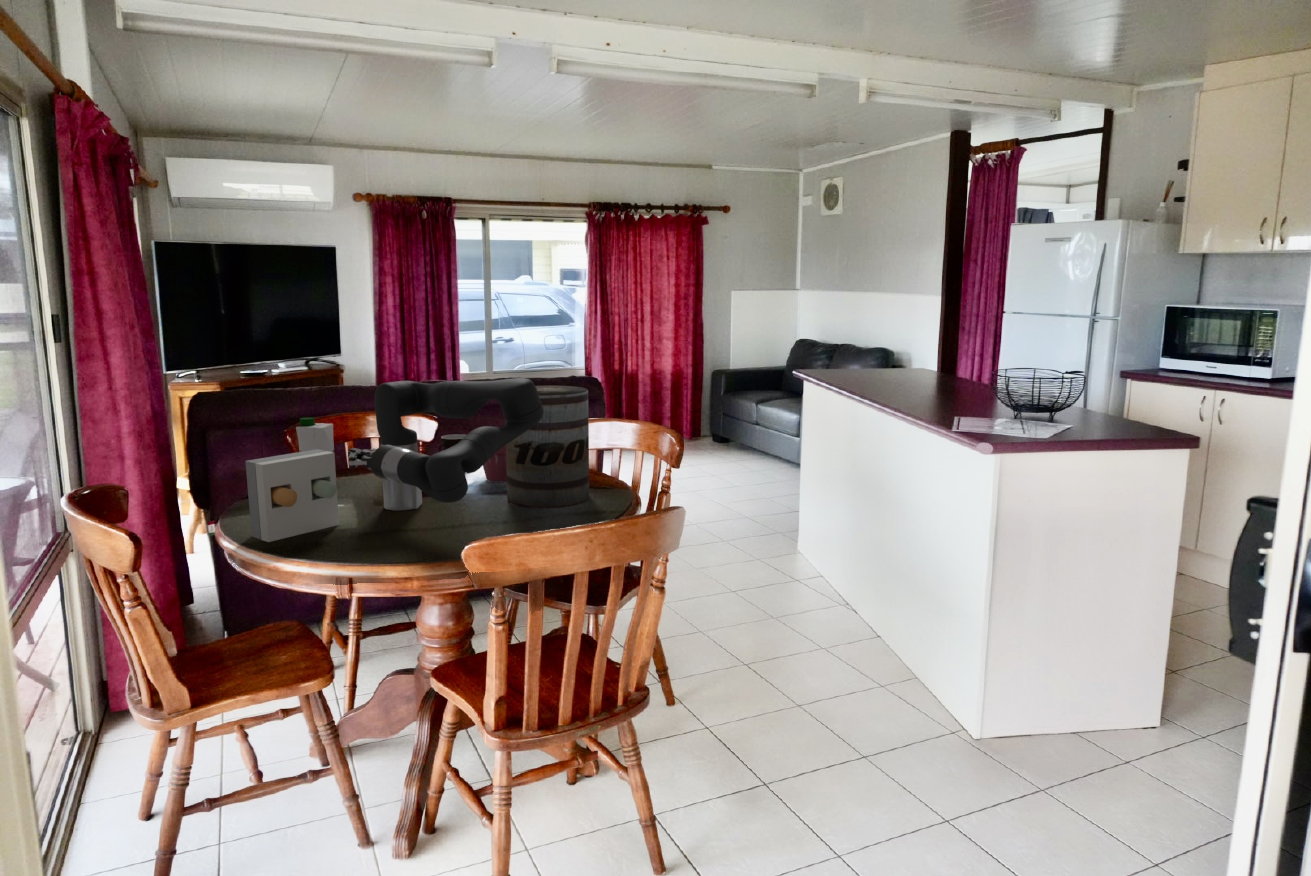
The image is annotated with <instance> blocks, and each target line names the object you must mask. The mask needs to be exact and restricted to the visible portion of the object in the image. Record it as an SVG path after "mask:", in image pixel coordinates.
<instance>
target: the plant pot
mask: <svg viewBox="0 0 1311 876" xmlns="http://www.w3.org/2000/svg"><path fill="white" fill-rule="evenodd" d="M482 467H483V471H484V474H485V479H486V481H488V482H491V483H505V482H506V483H507V465H506V445H505V446H503V447H502V448H501V449H499V450H498V451H497V452H496V453H495V454H494V455H493V456H492V457H491V458H490V459H489V460H488V461H487V462H486V463H485V464H484V465H483V466H482Z"/></svg>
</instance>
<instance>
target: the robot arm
mask: <svg viewBox="0 0 1311 876" xmlns="http://www.w3.org/2000/svg"><path fill="white" fill-rule="evenodd" d="M535 386H536V385H535V383H534V382H533V380H531V379H529V378H526V377H525V378H524V377H515V378H507V379H506V378H505V379H499V380H484V381H480V380H479V381H476V380H475V381H471V380H469V381H467V380H446V381H440V382H436V383H425V382H417V381H412V380H399V381H389V382H383V383H380V384H379V385H378V386H377V387H376V389H375V393H374V399H373V400H374V401H373V402H374V412H375V421H376V428H377V434H378V437H379V439H380V446H379V447H378V448H370V449H366V448H364V449H360V448H356V447H352V448H348V449H347V457H348V469H350V470H353V469H356V468H358V466H361V467H362V468H365V469H368V470H371V471H372V473H373V474H374V475H375V476H376V477H377V478H380V479H382V488H383V489H382V493H383V495H382V496H383V508H384V509H385V510H390V511H407V510H417V509H419V508H420V506H421V505H422V504H423V494H422V492H423V493H424V494H426V495H427V496H429V497H430V498H432V499H433V500H436V501H438V502H440V503H441V502H442V503H446V504H449V503H450V504H451V503H455V502H458V501H461V500H462V499H463V498H464V497H465V496H466V495H467V494H468V493H467V492H468V490H469V484H468V480H467V477H466V475H465V474H473V473H475V472H477V471H479V470H480V469H481V468H482V467H483V465H484V464H485V463H486V462H487V461H488V460H489V459H490V458H491V457H492V456H493V455H494V454H495V453H496V452H497V451H498V450H499V449H501V448H502V447H503V446H505V445H506V444H508V443H509V442H511V441H513V440H514V439H516V438H517V437H519V436H520V435H521V434H523V433H524V432H526V431H527V430H529V429H530V428H532V427H533V426H534V425H536V424H537V423H538V422H539V421H540V420H541V419H542V417H543V414H544V411H543V406H542V403H541V401H540V398H539V395H538V392H537V389H536V387H535ZM490 400H496V401H497V402H498V404H499V407H500V410H501V411H502V412H501V413H502V414H503V417H504V421H505V420H506V424H504V425H503V426H491V425H490V426H488V425H486V426H484V425H483V426H479V427H477V428H474V429H472V430H471V431H469V432H468V433H467V434H465V435H466V436H465V437H464V438H463V439H462V440H461V441H460V442H459V443H458V444H456V445H454V446H452V447H450V448H448V449H446V450H443V449H442V450H441V452H439V451H438V452H436V453H433V454H432V455H428V454H424V453H421V452H418V451H419V450H418V449H419V448H418V434H417V431H415V430H414V429H411V428H407V427H405V426H404V425H403V423H402V417H407V416H408V417H409V416H413V415H418V414H422V413H426V414H427V413H434V414H436V415H438V416H439V417H443V418H446V419H447V418H448V419H468V418H472V417H473V416H475V415H477V414H478V412H480V411H481V409H482V408H483V407H484V406H485V405H486V404H487V403H488V402H489V401H490Z"/></svg>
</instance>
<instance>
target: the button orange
mask: <svg viewBox="0 0 1311 876" xmlns="http://www.w3.org/2000/svg"><path fill="white" fill-rule="evenodd" d="M270 489H271V502H272V503H275V504H279V505H282V506H285V507H291V506H293V505H294V504H295V503H296V501H297V494H296V492H295V491H294V490H291V489H287V488H283V487H280V486H276V487H271V488H270Z"/></svg>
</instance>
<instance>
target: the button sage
mask: <svg viewBox="0 0 1311 876" xmlns="http://www.w3.org/2000/svg"><path fill="white" fill-rule="evenodd" d="M311 487H312V495H316V496H320V497H324V498H331V497H333V496H334V495H335V493H336V487H337V484H336V485H335V484H334V483H333V482H330V481H326V480H322V479H312V480H311Z"/></svg>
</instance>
